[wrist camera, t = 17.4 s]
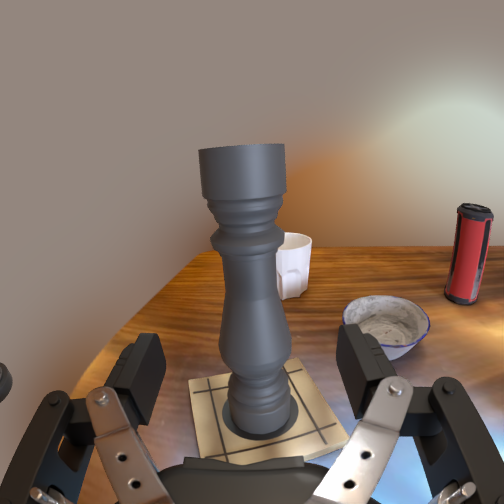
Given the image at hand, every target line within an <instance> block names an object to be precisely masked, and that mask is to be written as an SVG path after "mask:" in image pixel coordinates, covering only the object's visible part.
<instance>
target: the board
mask: <svg viewBox="0 0 504 504" xmlns="http://www.w3.org/2000/svg"><path fill="white" fill-rule="evenodd" d="M282 369H283V370H284V371H285V373H286V375H287V376H288V384H289V386H290V388H291V394H290V416H289V418H288V420H287V421H286V423H285V425H283V426H282V427H280V428H279V429H277V430H276V431H274V432H270V433H266V434H251V433H248V432H246V431H244V430H241V429H240V428H239V427H238V426H237V425H236V424H235V423H234V422H233V420H232V416H231V413H230V408H229V403H228V397H227V392H228V389H229V387H228V381H229V377H230V375H231V373H227V374H222V375H216V376H210V377H205V378H198V379H192V380H188V383H189V390H190V397H191V404H192V411H193V417H194V424H195V430H196V436H197V441H198V447H199V452H200V458H211V459H216V460H220V461H225V462H229V463H234V464H238V465H247V464H251V463H256V462H260V461H264V460H268V459H271V458H279V457H291V456H301V455H303V456H304V462H305V461H308V460H311V459H314V458H317V457H320V456H322V455H325V454H328V453H330V452H333V451H336V450H338V449H341V448H343V447H344V446H345V444H346V443H347V441H348V439H349V438H350V437H349V436H348V434H347V433H346V431H345V430H344V428H343V427H342V425H341V424H340V422H339V421H338V419H337V418H336V416H335V414H334V413H333V411H332V410H331V408H330V407H329V405H328V404H327V402H326V401H325V399H324V397H323V396H322V394H321V393H320V391H319V390H318V388H317V387H316V385H315V383H314V382H313V380H312V379H311V377H310V376H309V374H308V372H307V371H306V369H305V368H304V366H303V365H302V363H301V361H300V360H299V358H298V357H297V358H293V359H290V360H287V361H286V362H285V364H284V365H283V367H282Z"/></svg>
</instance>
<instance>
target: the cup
mask: <svg viewBox="0 0 504 504" xmlns="http://www.w3.org/2000/svg"><path fill="white" fill-rule="evenodd" d="M311 244H312V240H311V238H309V237H308V236H306V235H302V234H297V233H285V238H284V244H283V245H281V246H280V247H279V248H278V252H277V253H276V273H277V289H278V292H279V296H280V299H282V300H284V299H286V298H292V297H300V294H301V293H302V292H303V291H305V290H307V285H308V274H309V264H310V254H311Z"/></svg>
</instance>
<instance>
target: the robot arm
mask: <svg viewBox="0 0 504 504" xmlns="http://www.w3.org/2000/svg"><path fill="white" fill-rule="evenodd" d="M336 361H337V366H338V369H339V372H340V374H341V377H342V380H343V383H344V386H345V389H346V392H347V395H348V398H349V401H350V404H351V407H352V410H353V413H354V416H355V419H361V418H362V420H360V421H359V422H358V424H357V425H356V427H355V429H354V431H353V432H352V434H351V436H350V438H349V439H348V441H347V443H346V444H345V446H344V448H343V449H342V451H341V453H340V454H339V456H338V458H337V459H336V461H335V462H334V464H333V465H332V467H331V468H330V469H328V468H326V467H324V466H321V465H317V464H312V463H305V462H304V456H303V455H301V456H291V457H279V458H271V459H268V460H264V461H260V462H256V463H251V464H247V465H238V464H234V463H229V462H225V461H220V460H216V459H211V458H193V457H184V462H183V464H180V465H176V466H172V467H169V468H166V469H164V470H162V471H160V470H159V468H158V467H157V465H156V463H155V462H154V460H153V458H152V457H151V455H150V453H149V452H148V450H147V448H146V446H145V444H144V442H143V441H142V439H141V437H140V435H139V433H138V431H137V428H138V425H147V426H148V424H149V421H150V418H151V414H152V411H153V408H154V405H155V402H156V399H157V396H158V393H159V390H160V387H161V384H162V381H163V378H164V375H165V372H166V360H165V356H164V353H163V350H162V346H161V343H160V339H159V336H158V334H156V333H140V335H139V336H138V338H137V340H136V342H135V344H133V343H131V344H129V345H128V346H127V347H126V348H125V349H124V350H123V351H122V353H121V355H120V356H119V359H118V360H117V362H116V365H114V367H113V369H112V371H111V373H110V375H109V377H108V379H107V380H106V382H105V384H104V386H103V387H98V388H95V389H93V390H92V391H90V392H89V394H88V395H87V397H86V398H82V399H70V398H69V396H68V395H67V393H65V392H64V391H53V392H50V393H49V394H47V395H46V396H45V397H44V399H43V400H42V402H41V404H40V406H39V407H38V409H37V411H36V413H35V415H34V416H33V419H32V420H31V422H30V424H29V426H28V428H27V430H26V432H25V434H24V435H23V438H22V440H21V442H20V443H19V446H18V448H17V450H16V452H15V454H14V456H13V458H12V461H11V463H10V465H9V467H8V469H7V472H6V474H5V476H4V479H3V481H2V484H1V486H0V504H77V501H78V497H79V493H80V490H81V487H82V483H83V480H84V477H85V473H86V470H87V467H88V464H89V461H90V458H91V455H92V452H93V449H94V446H96V449H97V451H98V454H99V457H100V459H101V462H102V464H103V467H104V469H105V472H106V474H107V477H108V479H109V481H110V483H111V486H112V488H113V490H114V492H115V494H116V496H117V499H118V502H116V503H115V504H381V503H379V502H378V501H376V500H375V499H373V498H371V495H372V493H373V491H374V490H375V488H376V486H377V484H378V482H379V480H380V478H381V476H382V474H383V472H384V470H385V467H386V465H387V463H388V461H389V459H390V457H391V454H392V452H393V450H394V447H395V445H396V442H397V440H398V438H399V436H413V439H414V442H415V445H416V447H417V450H418V453H419V456H420V459H421V462H422V465H423V468H424V471H425V474H426V478H427V481H428V484H429V487H430V491H431V494H432V498H433V499H432V500H431V501H430V502H429V503H428V504H504V462H503V460H502V458H501V456H500V454H499V451H498V449H497V447H496V445H495V443H494V441H493V439H492V437H491V435H490V434H489V432H488V430H487V428H486V426H485V424H484V422H483V420H482V419H481V417H480V415H479V413H478V411H477V410H476V408H475V406H474V404H473V403H472V401H471V399H470V397H469V396H468V394H467V392H466V391H465V389H464V387H463V386H462V384H461V383H460V382H459V381H458V380H456V379H454V378H451V377H441V378H439V379H437V380H436V381H435V382H434V384H433V386H432V387H414V386H412V384H411V383H410V382H409V381H408V380H407V379H405V378H402V377H399V376H397V374H396V372H395V370H394V368H393V367H392V365H391V363H390V361H389V359H388V358H387V356H386V354H385V352H384V350H383V349H382V348H381V345H380V343H379V342H378V340H377V339H376V338H375V337H374V336H372V335H371V334H370V333H362V331H361V329H360V327H359V325H358V324H357V323H354V324H346V325H340V327H339V333H338V341H337V349H336ZM2 376H3V372H2V369H1V368H0V382H1V379H2ZM62 436H64V439H63V441H62V444H61V446H60V449H59V451H58V446H59V443H60V441H61V439H62Z"/></svg>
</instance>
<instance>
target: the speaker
mask: <svg viewBox="0 0 504 504" xmlns="http://www.w3.org/2000/svg"><path fill="white" fill-rule="evenodd" d="M457 213H458V216H457V225H456V233H455V241H454V247H453V253H452V259H451V265H450V270H449V275H448V280H447V284H446V286H445V290H444V293H445V295H446V296H447V297H448V299H451V300H452V301H454V302H455V303H457V304H468V305H469V304H472V303H474V302H476V301H477V298H478V291H479V287H480V283H481V279H482V275H483V271H484V266H485V261H486V256H487V251H488V245H489V240H490V233H491V226H492V221H493V218H494V216H493V214H492V212H491V210H490V209H489V208H487V207H484V206H480V205H476V204H470V203H463V204H462V205H460V206H459V207H458V208H457Z"/></svg>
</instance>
